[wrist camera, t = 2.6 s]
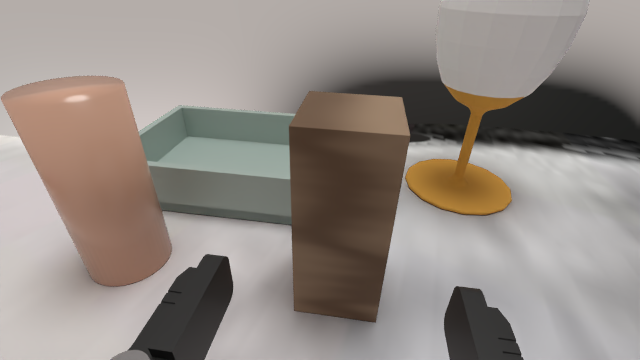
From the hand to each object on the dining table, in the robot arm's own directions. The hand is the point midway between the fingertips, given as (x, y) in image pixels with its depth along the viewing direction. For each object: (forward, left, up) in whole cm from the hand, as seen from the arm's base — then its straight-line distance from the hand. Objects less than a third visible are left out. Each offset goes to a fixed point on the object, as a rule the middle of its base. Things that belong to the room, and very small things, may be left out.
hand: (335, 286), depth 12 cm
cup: (-9, -19, -7) cm, 22 cm away
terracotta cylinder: (+14, -6, -6) cm, 16 cm away
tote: (+9, -17, -6) cm, 20 cm away
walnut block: (0, -6, -6) cm, 9 cm away
